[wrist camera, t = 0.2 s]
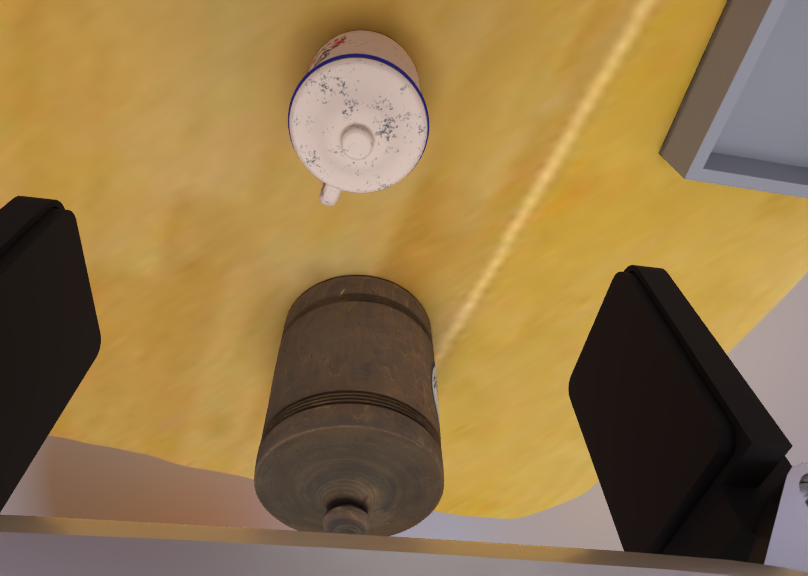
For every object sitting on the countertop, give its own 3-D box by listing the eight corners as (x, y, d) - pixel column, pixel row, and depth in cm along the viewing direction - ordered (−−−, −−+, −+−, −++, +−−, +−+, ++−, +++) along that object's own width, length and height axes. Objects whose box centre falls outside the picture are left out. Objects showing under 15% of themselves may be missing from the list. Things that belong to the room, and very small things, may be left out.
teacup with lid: (326, 3, 40) (307, 40, 31) (442, 56, 42) (458, 106, 33) (279, 152, 46) (250, 221, 37) (382, 191, 49) (380, 266, 39)
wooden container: (371, 405, 64) (365, 607, 46) (257, 343, 58) (199, 546, 40) (461, 325, 57) (494, 524, 40) (342, 246, 52) (318, 438, 34)
